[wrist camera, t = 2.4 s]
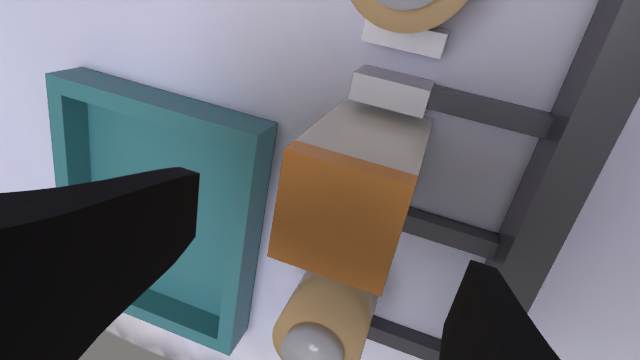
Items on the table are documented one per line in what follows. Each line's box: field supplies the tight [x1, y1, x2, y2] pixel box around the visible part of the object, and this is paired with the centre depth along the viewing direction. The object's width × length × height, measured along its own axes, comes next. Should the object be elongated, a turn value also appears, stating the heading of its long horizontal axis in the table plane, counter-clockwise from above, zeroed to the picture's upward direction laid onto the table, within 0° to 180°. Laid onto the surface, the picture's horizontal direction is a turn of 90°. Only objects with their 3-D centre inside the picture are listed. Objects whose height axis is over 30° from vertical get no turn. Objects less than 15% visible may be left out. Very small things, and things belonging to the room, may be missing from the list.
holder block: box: [348, 0, 640, 360], centre depth 17 cm, size 9×19×2 cm, turn 169°
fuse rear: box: [272, 271, 379, 360], centre depth 19 cm, size 4×4×6 cm
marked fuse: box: [267, 97, 434, 296], centre depth 15 cm, size 4×4×7 cm
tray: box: [45, 67, 277, 356], centre depth 22 cm, size 11×13×2 cm
